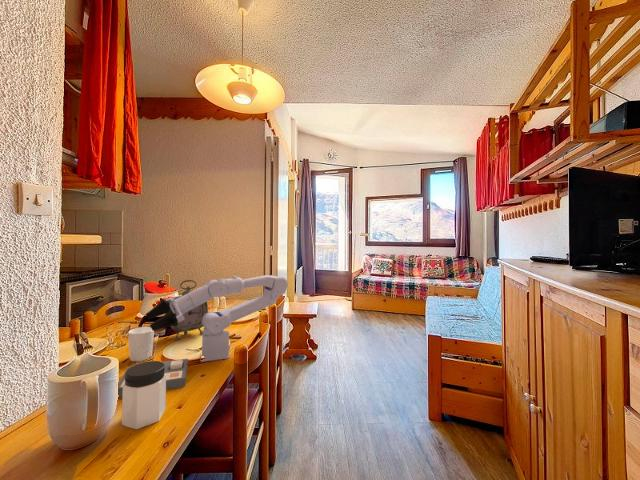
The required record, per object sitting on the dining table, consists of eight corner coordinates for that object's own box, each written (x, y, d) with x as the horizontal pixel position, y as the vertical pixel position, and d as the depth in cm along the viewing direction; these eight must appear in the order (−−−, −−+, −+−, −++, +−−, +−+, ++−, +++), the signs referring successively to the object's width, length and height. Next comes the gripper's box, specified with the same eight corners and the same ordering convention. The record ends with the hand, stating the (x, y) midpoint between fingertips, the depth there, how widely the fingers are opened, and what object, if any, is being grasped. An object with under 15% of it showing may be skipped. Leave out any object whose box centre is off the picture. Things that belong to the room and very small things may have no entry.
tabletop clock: (172, 342, 114) (173, 282, 114) (166, 336, 120) (167, 280, 120) (207, 334, 124) (208, 279, 124) (199, 329, 130) (201, 277, 130)
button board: (187, 365, 93) (187, 357, 93) (184, 386, 80) (185, 377, 80) (128, 374, 86) (128, 365, 86) (114, 398, 74) (115, 388, 74)
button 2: (182, 366, 89) (182, 359, 89) (181, 370, 86) (181, 363, 86) (171, 367, 88) (171, 361, 88) (170, 372, 85) (170, 365, 85)
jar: (113, 424, 63) (115, 372, 63) (145, 404, 71) (146, 358, 71) (142, 433, 61) (144, 379, 61) (172, 411, 69) (173, 363, 69)
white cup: (141, 363, 94) (141, 334, 94) (122, 361, 96) (122, 332, 96) (158, 354, 102) (159, 327, 102) (141, 352, 104) (141, 325, 104)
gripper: (180, 284, 100) (139, 303, 92) (192, 300, 89) (147, 323, 82) (187, 299, 103) (148, 319, 96) (200, 316, 92) (157, 340, 85)
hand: (148, 322), depth 89 cm, fingers open, 7 cm apart
